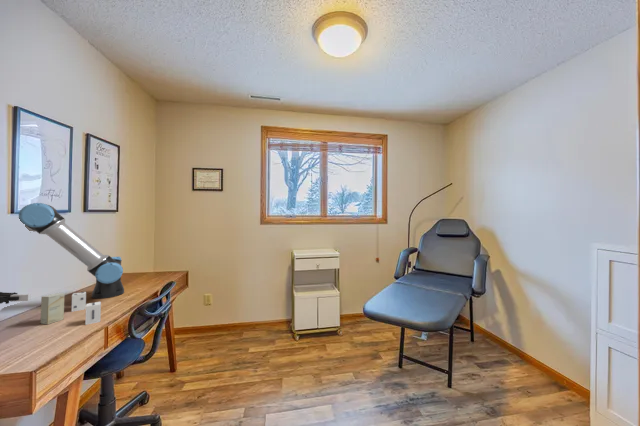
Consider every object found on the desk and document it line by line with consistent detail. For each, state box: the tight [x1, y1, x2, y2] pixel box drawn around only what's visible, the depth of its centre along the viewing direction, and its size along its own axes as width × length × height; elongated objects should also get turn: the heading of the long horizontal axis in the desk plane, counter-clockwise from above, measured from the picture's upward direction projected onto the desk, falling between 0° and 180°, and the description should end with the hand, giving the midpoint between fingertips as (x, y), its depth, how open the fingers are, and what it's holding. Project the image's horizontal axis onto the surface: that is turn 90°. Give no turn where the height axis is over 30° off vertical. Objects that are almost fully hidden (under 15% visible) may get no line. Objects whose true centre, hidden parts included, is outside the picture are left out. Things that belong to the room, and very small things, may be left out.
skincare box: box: [40, 292, 66, 325], centre depth 114 cm, size 6×4×12 cm
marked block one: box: [84, 301, 102, 326], centre depth 114 cm, size 5×5×8 cm
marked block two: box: [71, 291, 87, 312], centre depth 129 cm, size 5×5×8 cm
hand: (29, 297), depth 112 cm, fingers closed
